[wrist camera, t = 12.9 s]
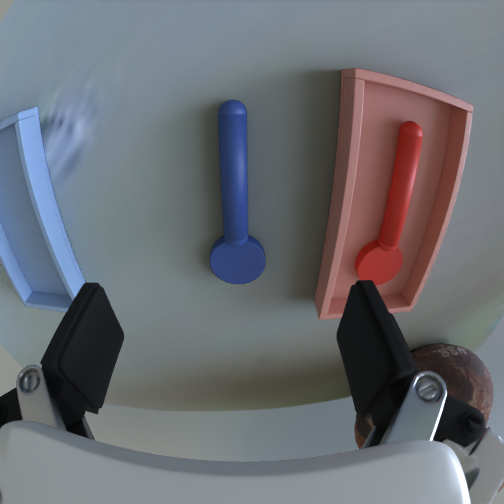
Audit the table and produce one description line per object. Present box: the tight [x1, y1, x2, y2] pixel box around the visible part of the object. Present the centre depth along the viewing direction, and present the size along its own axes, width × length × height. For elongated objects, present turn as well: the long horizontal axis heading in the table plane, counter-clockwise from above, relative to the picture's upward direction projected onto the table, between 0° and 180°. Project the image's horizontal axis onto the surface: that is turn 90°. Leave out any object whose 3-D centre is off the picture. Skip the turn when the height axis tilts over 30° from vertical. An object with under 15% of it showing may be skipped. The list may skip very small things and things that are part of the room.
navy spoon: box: [210, 100, 265, 284], centre depth 17 cm, size 13×4×2 cm, turn 0°
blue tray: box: [0, 107, 86, 312], centre depth 17 cm, size 18×9×2 cm, turn 0°
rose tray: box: [314, 68, 473, 320], centre depth 17 cm, size 18×9×2 cm, turn 0°
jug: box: [355, 343, 504, 492], centre depth 22 cm, size 22×21×25 cm
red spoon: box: [355, 121, 423, 286], centre depth 17 cm, size 13×4×2 cm, turn 0°
